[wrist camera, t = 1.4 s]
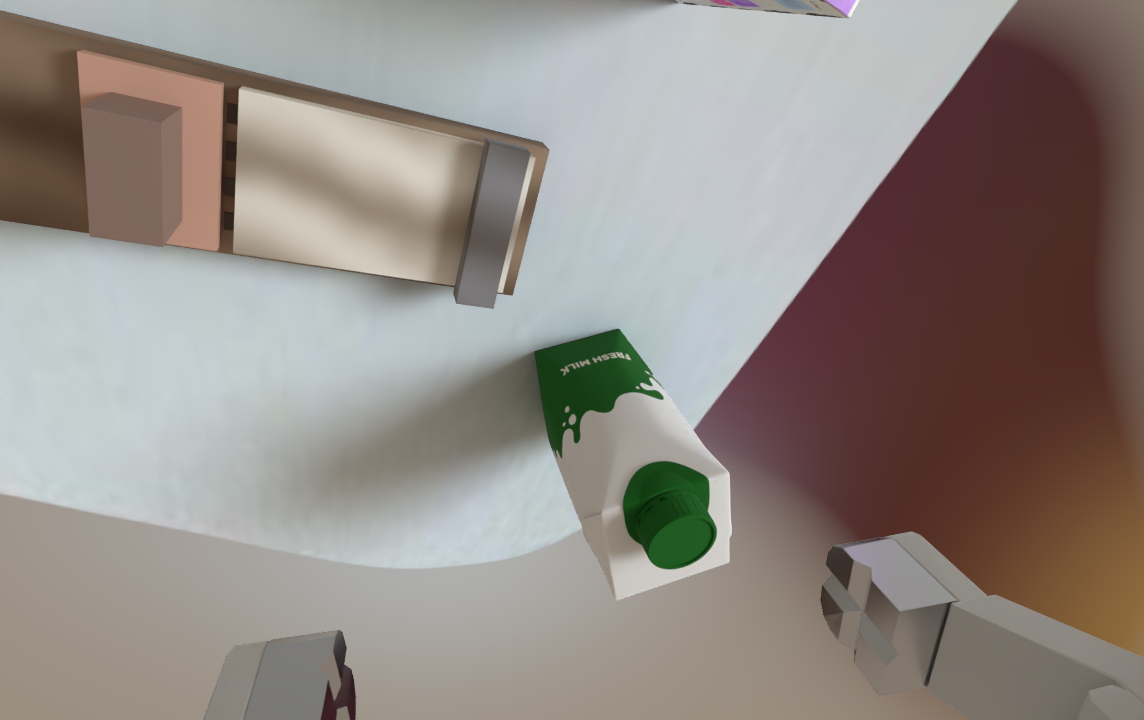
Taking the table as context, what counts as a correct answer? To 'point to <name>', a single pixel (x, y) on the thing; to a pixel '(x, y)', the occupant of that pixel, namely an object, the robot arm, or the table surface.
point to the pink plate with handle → (151, 152)
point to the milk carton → (632, 466)
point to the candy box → (786, 6)
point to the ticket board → (289, 169)
